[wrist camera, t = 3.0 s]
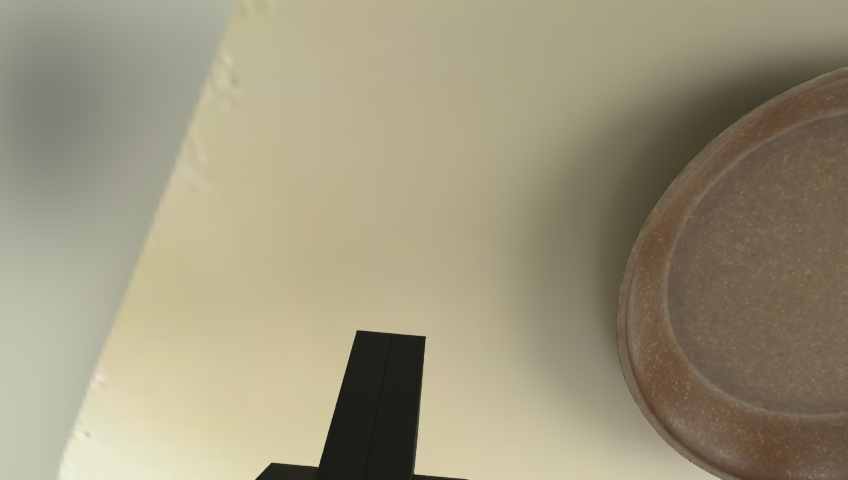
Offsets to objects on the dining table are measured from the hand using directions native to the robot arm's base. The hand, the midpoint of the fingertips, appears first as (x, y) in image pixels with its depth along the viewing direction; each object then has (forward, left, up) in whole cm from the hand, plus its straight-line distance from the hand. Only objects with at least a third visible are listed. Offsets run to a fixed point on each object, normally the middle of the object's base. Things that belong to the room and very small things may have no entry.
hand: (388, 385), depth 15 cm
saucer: (-14, 0, -8) cm, 16 cm away
